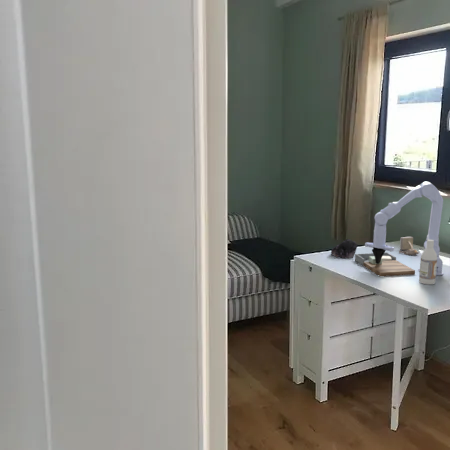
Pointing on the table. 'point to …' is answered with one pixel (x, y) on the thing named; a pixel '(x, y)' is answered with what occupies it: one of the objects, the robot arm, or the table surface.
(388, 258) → the cream tile
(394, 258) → the box
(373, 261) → the sage tile
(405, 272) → the walnut plate
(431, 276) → the bath foam
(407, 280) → the table surface
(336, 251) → the crystal cluster
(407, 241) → the decorative sculpture
